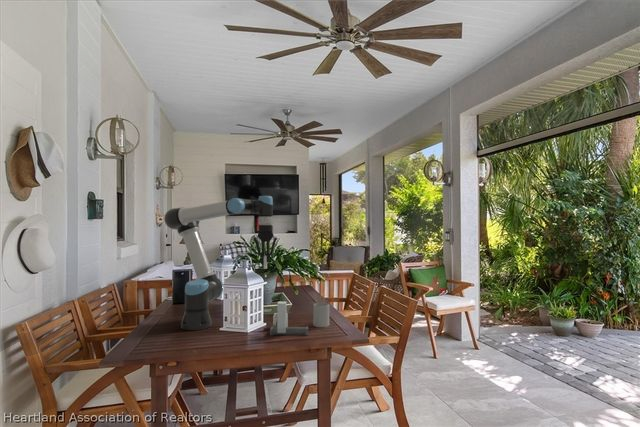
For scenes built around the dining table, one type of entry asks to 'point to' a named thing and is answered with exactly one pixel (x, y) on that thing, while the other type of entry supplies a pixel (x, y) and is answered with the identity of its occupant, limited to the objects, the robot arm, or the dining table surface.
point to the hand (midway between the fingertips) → (265, 268)
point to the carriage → (281, 317)
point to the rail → (290, 331)
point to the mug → (321, 315)
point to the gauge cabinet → (276, 320)
